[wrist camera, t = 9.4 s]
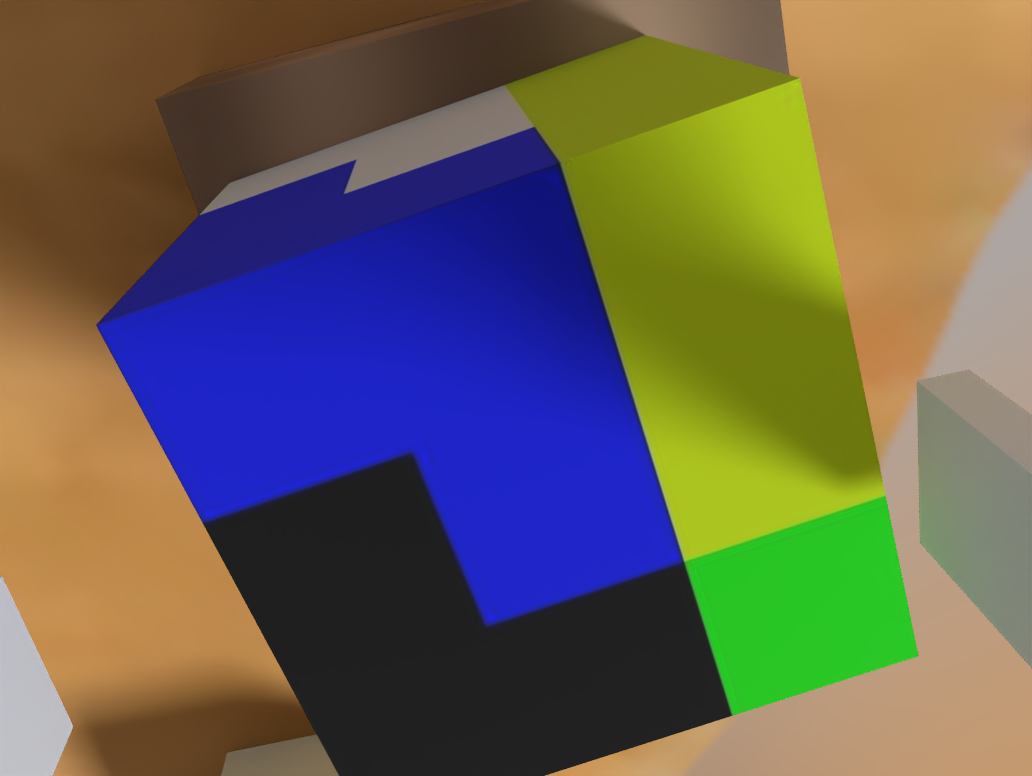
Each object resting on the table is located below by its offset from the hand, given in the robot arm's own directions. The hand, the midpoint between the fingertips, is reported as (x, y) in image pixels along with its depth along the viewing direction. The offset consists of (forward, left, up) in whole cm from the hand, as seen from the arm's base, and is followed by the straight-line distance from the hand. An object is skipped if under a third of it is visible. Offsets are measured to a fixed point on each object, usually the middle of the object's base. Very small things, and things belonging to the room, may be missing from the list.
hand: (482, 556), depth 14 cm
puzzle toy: (+1, 0, -11) cm, 11 cm away
